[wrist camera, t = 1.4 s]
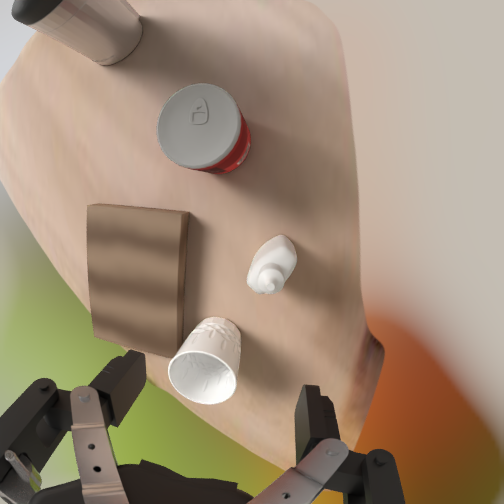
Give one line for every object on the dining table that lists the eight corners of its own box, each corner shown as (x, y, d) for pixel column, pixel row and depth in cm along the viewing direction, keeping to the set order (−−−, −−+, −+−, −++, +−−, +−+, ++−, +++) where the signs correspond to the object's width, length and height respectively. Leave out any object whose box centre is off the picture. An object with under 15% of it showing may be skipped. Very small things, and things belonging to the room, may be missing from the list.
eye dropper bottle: (298, 265, 35) (309, 302, 24) (255, 276, 36) (246, 317, 24) (289, 231, 34) (297, 253, 23) (245, 243, 35) (230, 271, 24)
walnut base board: (99, 203, 36) (87, 205, 33) (189, 211, 35) (181, 214, 32) (103, 328, 40) (94, 336, 37) (182, 348, 39) (176, 359, 37)
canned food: (243, 105, 31) (229, 72, 21) (258, 166, 33) (250, 155, 22) (185, 122, 32) (149, 98, 22) (197, 181, 34) (164, 178, 23)
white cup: (180, 325, 39) (154, 363, 29) (226, 302, 37) (210, 340, 28) (210, 366, 40) (194, 410, 30) (256, 347, 38) (249, 393, 29)
